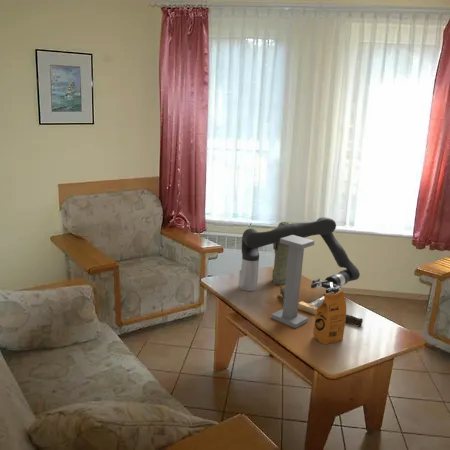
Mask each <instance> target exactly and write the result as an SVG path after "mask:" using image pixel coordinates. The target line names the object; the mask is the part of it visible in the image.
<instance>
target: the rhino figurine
mask: <svg viewBox="0 0 450 450" xmlns="http://www.w3.org/2000/svg"><path fill="white" fill-rule="evenodd" d="M279 292H280V293H279V294H280V295H281V296H282V297H281V300H284V293H285V286H284V287H281V286H280V287H279Z"/></svg>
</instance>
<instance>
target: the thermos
mask: <svg viewBox="0 0 450 450" xmlns="http://www.w3.org/2000/svg"><path fill="white" fill-rule="evenodd" d="M285 224H290V223H289V222H286V221H282V222H279V223H278V225H277V227H279V226H282V225H285ZM272 247H273V250H274V252H273V253H274V262H273V263H274V264H273V269H272V273H271V274H272V276H271V277H272V281H271V282H272V283H273V284H275V285H280V286H282V285H284V286H285V283H286V272H287V261H288V251H289V245H286V244H283V243H273V244H272Z"/></svg>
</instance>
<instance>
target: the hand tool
mask: <svg viewBox="0 0 450 450" xmlns="http://www.w3.org/2000/svg"><path fill="white" fill-rule="evenodd" d="M363 322H364V320H363V318H359V317H356V316H354V315H350V314H347V313H346V321H345V323H347V324H348V323H349V324H352V325H354V326H358V328H361V327H362V325H363Z"/></svg>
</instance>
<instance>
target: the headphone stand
mask: <svg viewBox="0 0 450 450" xmlns="http://www.w3.org/2000/svg"><path fill="white" fill-rule="evenodd" d="M280 243H283V244H286V245H289V251H288V261H287V272H286V283H285V284H284V287H285V293H284V299H283V303H282V304H283V305H282V308H281V309H279V310H277V311H275V312H273V313H271V315H270V316H271V319H273V320H275V321H277V322H280V323H282V324H285V325H287V326H289V327H291V328H294V329H297V328H299V327H301V326H302V325H304V324H306V323H308V322H309V321H308V320H309V317H308V316H304V315H301V314H300V313H298V312H299V311H298V303H299V302H300V301H299V300H300V291H301V283H302V282H301V281H302V272H303V262H304V261H303V260H304V254H305V253H304V251H305V249H306V248H308V247H312V246H315V240H313V239H310V238H307V237H305V238H303V237H299V236H295V235H290V236H287V237H283V238H280Z"/></svg>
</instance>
